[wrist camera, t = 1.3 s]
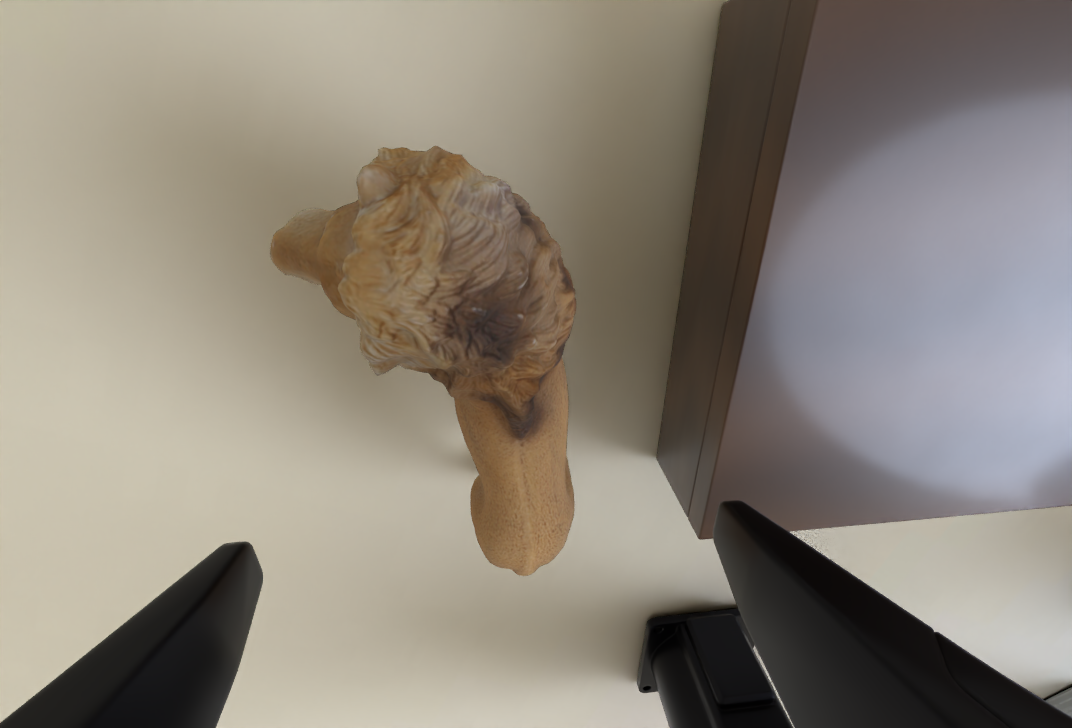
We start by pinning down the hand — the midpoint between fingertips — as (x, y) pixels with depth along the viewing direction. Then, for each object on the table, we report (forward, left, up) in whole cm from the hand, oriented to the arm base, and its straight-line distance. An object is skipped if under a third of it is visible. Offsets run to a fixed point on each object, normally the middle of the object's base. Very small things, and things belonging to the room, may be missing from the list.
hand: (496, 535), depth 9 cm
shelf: (+2, -19, -9) cm, 21 cm away
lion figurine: (0, 0, -9) cm, 9 cm away
